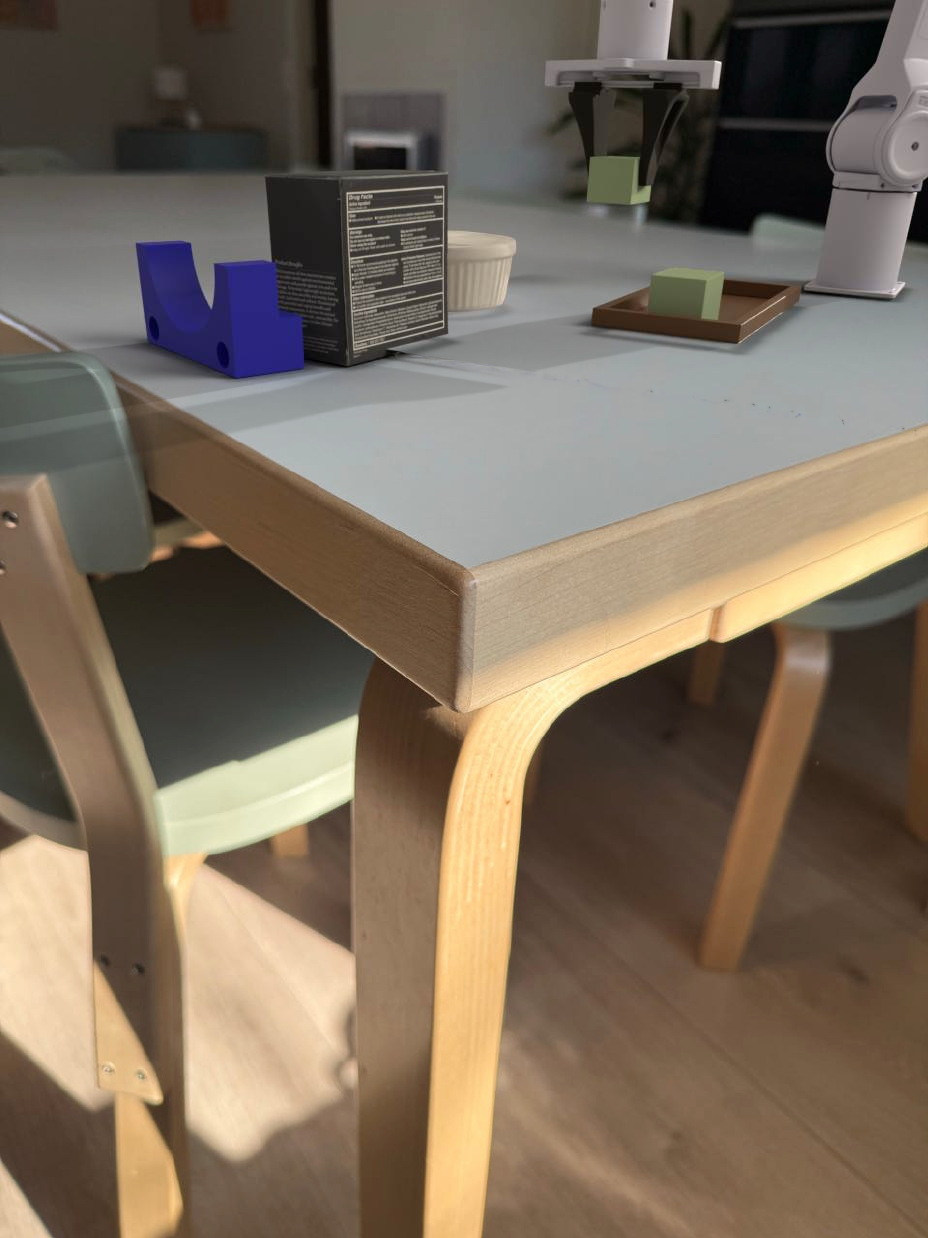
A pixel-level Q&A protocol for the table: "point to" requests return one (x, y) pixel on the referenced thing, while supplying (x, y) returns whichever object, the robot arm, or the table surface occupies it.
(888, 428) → the table surface
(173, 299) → the cable clip
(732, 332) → the tray
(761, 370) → the table surface
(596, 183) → the olive green block
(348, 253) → the small box
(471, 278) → the ramekin
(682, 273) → the green rectangular block
